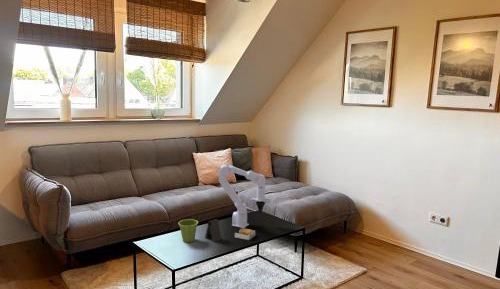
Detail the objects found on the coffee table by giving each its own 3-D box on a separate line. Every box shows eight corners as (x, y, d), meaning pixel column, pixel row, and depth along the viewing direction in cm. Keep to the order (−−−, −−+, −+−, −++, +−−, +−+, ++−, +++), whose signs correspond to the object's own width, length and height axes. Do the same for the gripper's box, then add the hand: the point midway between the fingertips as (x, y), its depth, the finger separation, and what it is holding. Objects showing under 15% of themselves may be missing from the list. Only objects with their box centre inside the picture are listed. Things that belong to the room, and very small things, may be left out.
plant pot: (190, 235, 230) (190, 217, 228) (202, 240, 222) (202, 222, 220) (174, 240, 222) (174, 222, 220) (185, 245, 213) (185, 227, 212)
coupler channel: (234, 237, 228) (234, 232, 228) (241, 232, 236) (241, 228, 236) (249, 240, 224) (249, 235, 223) (255, 235, 232) (255, 230, 231)
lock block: (238, 236, 229) (239, 230, 229) (242, 234, 234) (242, 228, 233) (249, 238, 226) (249, 232, 226) (252, 236, 231) (252, 230, 230)
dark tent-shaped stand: (221, 239, 224) (221, 220, 222) (214, 242, 219) (214, 223, 218) (212, 235, 230) (212, 217, 228) (204, 238, 226) (204, 219, 224)
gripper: (248, 192, 246) (248, 212, 247) (268, 195, 239) (268, 215, 241) (253, 190, 252) (252, 209, 254) (272, 192, 246) (272, 212, 247)
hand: (260, 212), depth 248 cm, fingers closed
